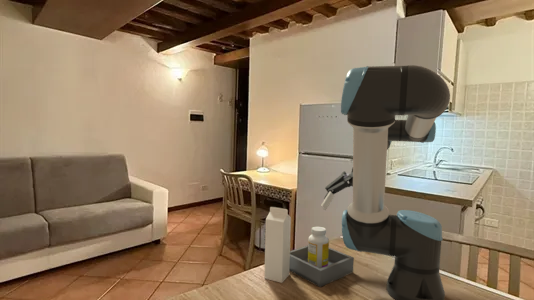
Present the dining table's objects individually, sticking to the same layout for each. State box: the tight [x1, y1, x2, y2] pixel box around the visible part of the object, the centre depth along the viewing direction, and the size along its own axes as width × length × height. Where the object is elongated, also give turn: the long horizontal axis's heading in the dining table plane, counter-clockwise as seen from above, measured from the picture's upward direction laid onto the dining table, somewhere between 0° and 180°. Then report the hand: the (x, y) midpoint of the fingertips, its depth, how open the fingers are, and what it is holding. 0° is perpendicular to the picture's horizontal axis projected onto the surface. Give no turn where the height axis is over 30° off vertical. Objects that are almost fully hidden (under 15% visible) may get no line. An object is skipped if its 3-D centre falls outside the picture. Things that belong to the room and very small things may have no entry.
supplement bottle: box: [307, 226, 330, 269], centre depth 107 cm, size 7×7×13 cm
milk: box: [263, 206, 292, 284], centre depth 101 cm, size 6×6×22 cm
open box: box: [289, 245, 355, 288], centre depth 107 cm, size 16×16×5 cm
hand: (338, 212), depth 112 cm, fingers open, 13 cm apart
